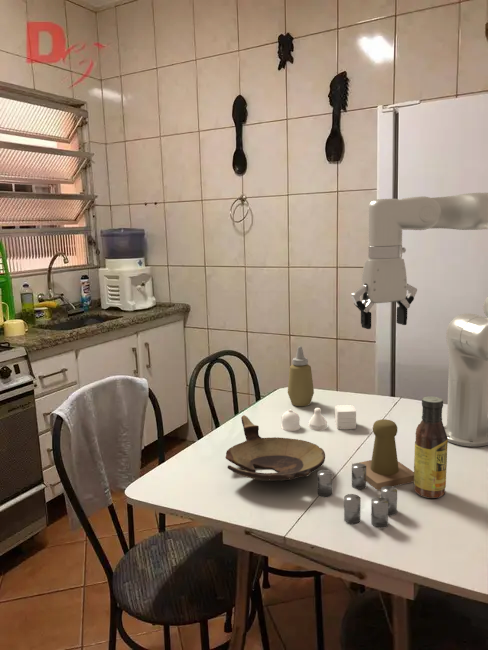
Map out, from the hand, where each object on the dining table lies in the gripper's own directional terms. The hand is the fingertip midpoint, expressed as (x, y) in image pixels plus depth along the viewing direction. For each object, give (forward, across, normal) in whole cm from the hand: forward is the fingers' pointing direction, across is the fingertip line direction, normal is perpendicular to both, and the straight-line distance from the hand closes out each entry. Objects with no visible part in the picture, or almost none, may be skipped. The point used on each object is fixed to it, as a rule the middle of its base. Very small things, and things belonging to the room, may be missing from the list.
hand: (384, 326), depth 129 cm
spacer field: (+30, +20, +22) cm, 43 cm away
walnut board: (+30, +8, +14) cm, 34 cm away
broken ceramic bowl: (+31, +29, 0) cm, 42 cm away
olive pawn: (+29, +8, +13) cm, 33 cm away
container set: (+31, +9, -18) cm, 37 cm away
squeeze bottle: (+31, +5, -37) cm, 48 cm away
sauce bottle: (+31, +4, +23) cm, 39 cm away
